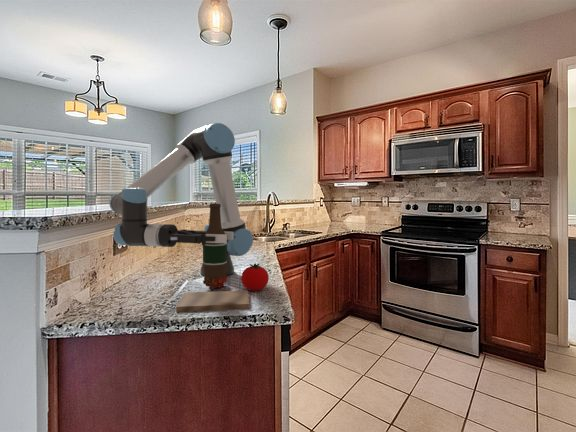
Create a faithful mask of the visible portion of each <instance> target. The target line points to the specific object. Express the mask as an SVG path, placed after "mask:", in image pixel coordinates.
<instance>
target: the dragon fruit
mask: <svg viewBox="0 0 576 432" xmlns="http://www.w3.org/2000/svg"><path fill="white" fill-rule="evenodd" d="M226 281H228V276H227V275H226V276H225V277H223V278H216V279H211V278H205V277H204V276H203V281H202V283H203V284H204V285H205V286H206V287H209V288H210V289H211V290H213V291H214V290H216V289H217V288H220V289H222V288H224V286H225V283H226Z"/></svg>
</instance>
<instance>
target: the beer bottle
mask: <svg viewBox="0 0 576 432" xmlns="http://www.w3.org/2000/svg"><path fill="white" fill-rule="evenodd" d="M220 207H221V205H220V204H217V203H216V202H214V203H210V204H209V221H208V224H209V227H208V229H207V231H206V232H205V234H204V235H205V236H206V234H225V232H224V231H223V229H222V226H221V215H220ZM202 263H203V275H202V276H203V278H204V277H205V278H211V279H216V278H223V277H225V276H226V275H227V243H206V241H205V245H202Z"/></svg>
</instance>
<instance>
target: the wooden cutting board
mask: <svg viewBox="0 0 576 432" xmlns="http://www.w3.org/2000/svg"><path fill="white" fill-rule="evenodd" d="M175 307H176V308H175V310H176V313H177V312H179V313H180V312H198V311H217V310H218V311H222V310H239V309H240V310H241V309H242V310H244V309H245V310H248V309H250V300H249V289H247V290H229V291H228V290H225V291H224V290H223V291H222V290H221V291H218V290H217V291H194V292H193V291H191V292H186V291H185V292H183V294H182V296H181V298H180V299H179V301H178V303H177V305H176V306H175Z"/></svg>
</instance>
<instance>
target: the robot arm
mask: <svg viewBox="0 0 576 432" xmlns="http://www.w3.org/2000/svg"><path fill="white" fill-rule="evenodd" d="M235 141H236V139H235V135H234V133H233V131H232V129H231V128H230V127H228V126H227V125H225V124H223V123H221V122H214V123H209V124H207V125H206V124H205V125H204V126H201V127H198V128H195V129H194V130H193V131H191V132H190V133H189V134H187V136H186V137H185V138H184V139H182V140H181V141H179V143H177V144H176V145H175V149H174V150H173V151H172V152H170V153H169V154H167V155H166V156H165V157H164V158H163V159H161V160H160V161H158V162H157V163H156V164H155V165H154V166H152V167H151V168H150V169H149V170H147V171H146V172H144V173H143V174H142V175H141V176H140V177H138V178H137V179H135V181H133V182H132V183H131V184H130V185H128V186H127V187H124V188H122V189H121V192H119V193H116V194H114V195H113V196H112V197H111V198H110V199H109V208H110V209H111V210H112V211H113V212H114V213H116V214H118V215H121V222H120V223H118V224H116V226H114V231H113V233H112V234H113V239H114V241H115V243H116V244H117V245H121V246H129V247H152V249H156V248H157V247H163V248H173V247H175V246H176V244H177V243H179V244H180V243H186V244H197V245H200V244H201V245H202V246H203V245H205V241H206V243H227V277H228V276H232V275H233V274H234V273H235V267H234V264H233V260H232V257H231V256H235V257H241V256H244V255H246V254H247V253H249V251H250V250H251V248H252V246H253V244H254V243H253V242H254V236H253V233H252V232H251V231H250V230H249V229H248V228H246V222H245V220H244V219H242V218H241V215H240V209H239V205H238V200H237V195H236V194H237V193H236V190H235V184H234V179H233V174H232V173H233V172H232V168H231V162H230V161H231V159H232V158H233V154H232V153H233V152H232V150H233V149H234V147H235V145H236V143H235ZM199 159H202V161H203V162H204V163H205V164H207V166H208V171H209V177H210V181H211V185H212V190H213V196H214V200H215V203H217V204H220V205H221V207H220V215H221V226H222V229H223V231H224V232H225V234H206V236H205V235H204V234H205V232H206V231H207V229H208V227H209V223H207V224H206V225H205V226H204V230H194V229H191V230H190V229H188V230H187V229H180V230H179V229H178V227H177V226H176V225H175V224H171V223H170V224H169V223H168V224H162V223H148V198H149V197H151V196H152V195H153V194H154V193H155V192H157V191H158V190H159V189H160V188H161V187H163V186H164V185H165V184H166V183H168V182H169V181H170V180H171V179H172V178H173V177H175V176H176V175H177V174H179V172H181V170H183V169H185V167H187V166H188V165H189V164H194V163H195V162H197V161H198V160H199ZM199 274H200V275H201V276H203V262H202V264H201V267H200V273H199Z"/></svg>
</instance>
